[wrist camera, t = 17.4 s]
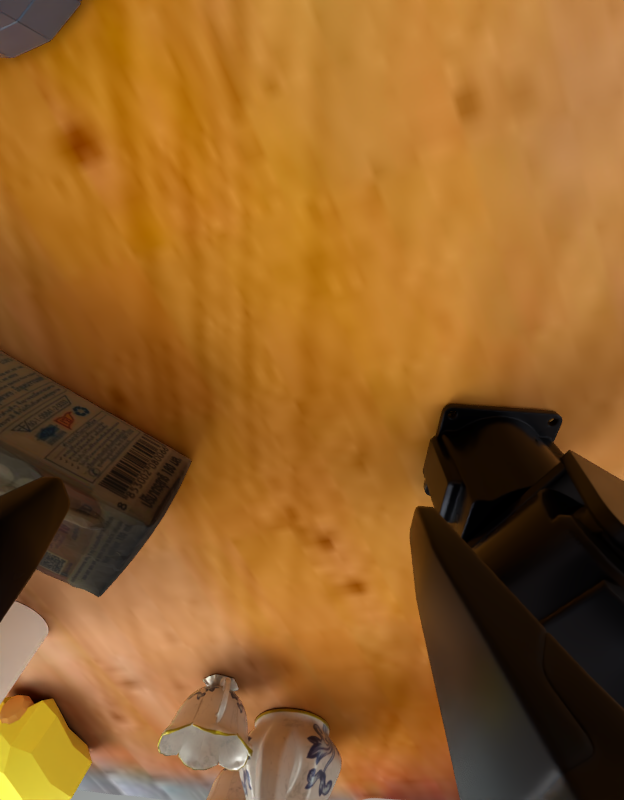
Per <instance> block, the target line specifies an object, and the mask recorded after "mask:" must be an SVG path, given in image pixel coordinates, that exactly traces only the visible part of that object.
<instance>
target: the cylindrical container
mask: <svg viewBox="0 0 624 800" xmlns="http://www.w3.org/2000/svg"><path fill="white" fill-rule="evenodd" d="M47 635H48V626H47V624H46V622H45V621H44V619H43V618H42V617H41V616H40V615H39V614H38V613H36V612H35V611H34V610H32V609H30V608H29V607H27V606H25V605H23V604H21V603H19V602H16V601H15V602H14V603H13V605H12V606H11V607H10V609H9V610H8V612H7V613H6V615H5V616H4V618H3V619H2V621H1V622H0V704H1V703H2V701H3V700H4V698H5V697H6V695H7V694H8V692H9V691H10V690H11V688H12V687H13V685H14V684H15V682H16V681H17V679H18V678H19V676H20V675H21V673H22V672H23V670H24V669H25V667H26V666H27V664H28V663H29V661H30V660H31V658H32V657H33V656H34V654H35V653H36V651H37V650H38V648H39V647H40V645H41V644H42V642H43V641H44V639H45V638H46V636H47Z"/></svg>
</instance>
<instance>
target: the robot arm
mask: <svg viewBox="0 0 624 800" xmlns="http://www.w3.org/2000/svg"><path fill="white" fill-rule="evenodd" d="M451 411H455V413H454V414H453V415H448V414H449V413H450V412H451ZM552 418H554V419H553V420H552V421H551V422H548V421H549V420H550V419H552ZM561 424H562V417H561V416H560V415H559V414H558V413H556V412H555V411H548V410H533V409H519V408H505V407H491V406H476V405H462V404H449V405H446V406H445V407H444V408H443V410H442V413H441V417H440V421H439V425H438V429H437V433H436V436H434V437H433V438H432V439H431V440H430V443H429V447H428V452H427V456H426V460H425V464H424V468H423V474H424V477H425V482H424V490H425V493H426V494H427V495H430V496H431V499H432V502H433V505H434V508H433V507H425V506H418V507H416V509H415V512H414V516H413V520H412V524H411V528H410V545H411V554H412V564H413V573H414V583H415V592H416V600H417V605H418V610H419V615H420V619H421V624H422V628H423V633H424V638H425V642H426V647H427V651H428V656H429V660H430V665H431V669H432V674H433V678H434V683H435V688H436V692H437V697H438V701H439V706H440V710H441V715H442V719H443V724H444V729H445V733H446V738H447V742H448V747H449V751H450V756H451V760H452V765H453V770H454V774H455V779H456V783H457V788H458V792H459V797H460V800H624V481H622V480H621V479H619V478H617V477H616V476H614V475H612V474H611V473H609V472H607V471H605V470H604V469H602V468H600V467H599V466H597V465H595V464H593V463H592V462H590V461H588V460H587V459H585V458H583V457H582V456H580V455H578V454H576V453H575V452H573V451H571V450H569V451H568V452H567V453H565V454H563V453H562V452H561V451H560V449H559V448H558V447H557V446H556V445H555V444H554V443H553V442H554V440H555V437H556V435H557V433H558V430H559V428H560V426H561ZM69 508H70V500H69V497H68V494H67V491H66V488H65V486H64V483H63V481H62V480H61V479H60V478H58V477H48V476H44V477H40V478H38V479H36V480H33V481H31V482H29V483H27V484H25V485H23V486H20V487H18V488H16V489H14V490H12V491H10V492H7V493H5V494H3V495H1V496H0V622H1V621H2V619H3V618H4V616H5V615H6V613H7V612H8V610H9V609H10V607H11V606H12V605H13V603H14V602H15V600H16V599H17V597H18V596H19V594H20V593H21V591H22V590H23V588H24V587H25V585H26V584H27V582H28V581H29V579H30V578H31V576H32V575H33V573H34V572H35V570H36V568H37V567H38V565H39V563H40V562H41V560H42V558H43V557H44V555H45V553H46V551H47V549H48V547H49V546H50V544H51V542H52V540H53V538H54V536H55V535H56V533H57V531H58V529H59V527H60V525H61V524H62V522H63V520H64V518H65V516H66V515H67V513H68V511H69Z"/></svg>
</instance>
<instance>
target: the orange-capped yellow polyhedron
mask: <svg viewBox="0 0 624 800" xmlns="http://www.w3.org/2000/svg"><path fill="white" fill-rule="evenodd" d="M91 763H92V761H91V757H90V753H89V750H88V746H87V745H86V744H85V743H84V742H83V741H82V740H81V739H80V738H79V737H78V736H77V735H76V734H74V733H73V732H72V731H71V730H70V729H69V728H68V726H67V724H66V722H65V720H64V718H63V716H62V714H61V712H60V711H59V709H58V707H57V705H56V703H55V701H54V699H48V700H42V701H40V702H38V703H36V704H34V703H33V701H32V700H31V698H30V697H29V696H23V695H16V696H13V697H7V698H4V700H3V701H2V703H1V704H0V800H70V799H71V798H72V796H73V795H74V793H75V791H76V790H77V788H78V786H79V784H80V783H81V781H82V779H83V777H84V776H85V774H86V772H87V770H88V769H89V767H90V765H91Z"/></svg>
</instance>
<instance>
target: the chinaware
mask: <svg viewBox="0 0 624 800" xmlns="http://www.w3.org/2000/svg"><path fill="white" fill-rule="evenodd" d="M203 682H204V683H205V684H206V687H203V688H201V689H199V690H197V691H196V692H194V693H193V694H192V695H190V696H189V697H188V698H187V699H186V700H185V701H184V703H183V704H182V705H181V707H180V708H179V710H178V711H177V713H176V715H175V717H174V719H173V720H172V722H171V724H170V725H169V726H168V727H167V728H166V729H165V730H164V731H163V733H162V735H161V737H160V740H159V742H158V751H159V753H161V754H163V755H165V756H170V755H177V754H178V757H179V758H180V759H181V761H182V762H183V763H184V765H186V766H187V767H190V768H192V769H193V770H207V769H209V768H211V767H214V766H216V765H218V762H219V765H220V766H223V767H224V769H223V770H222V771H221V772H220V774H219V775H218V776H217V778H216V780H215V781H214V783H213V786H212V788H211V791H210V793H209V795H208V797H207V800H328V798H329V796H330V793H331V791H332V789H333V787H334V785H335V783H336V780H337V778H338V775H339V773H340V769H341V756H340V754H339V752H338V750H337V748H336V746H335V745H334V743H333V742H332V740H331V739H330V738H329V733H330V728H329V725H328V724H327V722H326V721H325V720H324V719H322V718H321V717H319V716H317V715H315V714H313V713H310V712H307V711H303V710H298V709H286V708H285V709H273V710H269V711H266V712H264V713H262V714H260V715H259V716H258V717H257V718H256V720H255V728H254V729H253V730H252V731H251V733H250V734H249V735H248V726H247V717H246V712H245V709H244V706H243V704H242V702H241V700H240V699H239V697H238V696H237V695H236V694H235V693H234V692H233V691H237V690H238V689H239V688H238V686H237V683H236V682H235V680H234V678H229V677H226V676H222V675H217V674H215V675H212V676H209V677H207V678H205V679H203Z"/></svg>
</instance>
